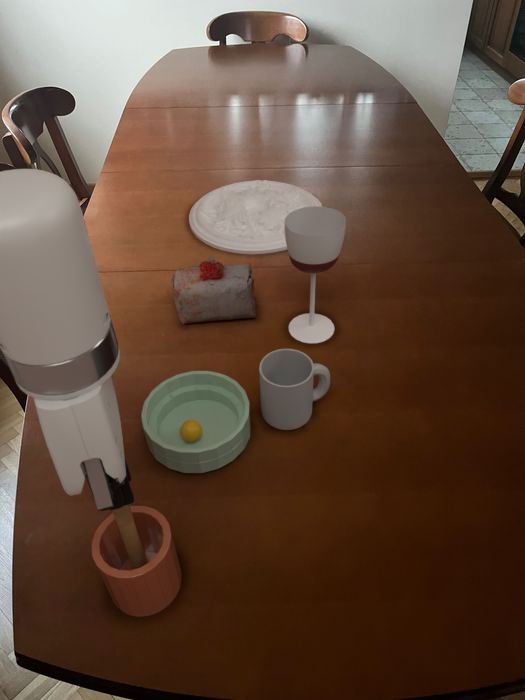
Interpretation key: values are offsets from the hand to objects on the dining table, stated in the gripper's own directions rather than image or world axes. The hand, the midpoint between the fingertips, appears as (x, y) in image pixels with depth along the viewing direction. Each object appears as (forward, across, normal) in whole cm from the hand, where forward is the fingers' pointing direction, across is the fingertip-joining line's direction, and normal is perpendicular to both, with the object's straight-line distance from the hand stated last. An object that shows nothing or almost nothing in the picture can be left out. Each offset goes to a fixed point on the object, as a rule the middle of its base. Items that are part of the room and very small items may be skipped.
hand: (115, 493), depth 54 cm
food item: (+18, -44, +18) cm, 51 cm away
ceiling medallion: (+18, -72, +33) cm, 81 cm away
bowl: (+17, -19, +10) cm, 28 cm away
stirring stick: (+14, 0, 0) cm, 14 cm away
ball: (+15, -18, +9) cm, 25 cm away
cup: (+18, -19, +24) cm, 35 cm away
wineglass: (+18, -35, +32) cm, 51 cm away
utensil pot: (+17, 0, 0) cm, 17 cm away
